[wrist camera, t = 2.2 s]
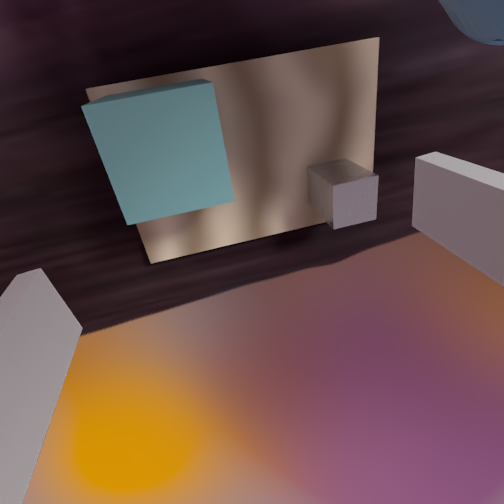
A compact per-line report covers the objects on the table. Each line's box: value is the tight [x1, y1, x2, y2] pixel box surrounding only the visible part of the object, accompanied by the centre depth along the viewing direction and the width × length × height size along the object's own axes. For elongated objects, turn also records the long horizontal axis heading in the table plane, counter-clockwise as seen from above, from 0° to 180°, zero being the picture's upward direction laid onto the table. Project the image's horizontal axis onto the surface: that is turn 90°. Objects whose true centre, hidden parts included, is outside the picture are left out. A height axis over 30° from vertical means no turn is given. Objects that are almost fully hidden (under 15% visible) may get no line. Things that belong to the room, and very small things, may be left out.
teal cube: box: [81, 78, 235, 225], centre depth 24 cm, size 8×8×8 cm
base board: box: [86, 37, 379, 264], centre depth 30 cm, size 24×16×2 cm, turn 99°
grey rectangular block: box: [306, 158, 379, 229], centre depth 30 cm, size 4×4×6 cm
